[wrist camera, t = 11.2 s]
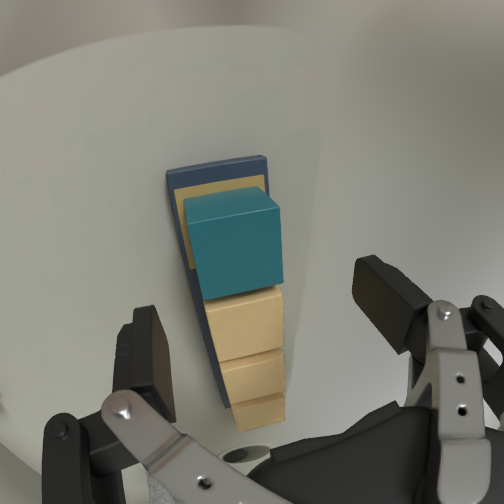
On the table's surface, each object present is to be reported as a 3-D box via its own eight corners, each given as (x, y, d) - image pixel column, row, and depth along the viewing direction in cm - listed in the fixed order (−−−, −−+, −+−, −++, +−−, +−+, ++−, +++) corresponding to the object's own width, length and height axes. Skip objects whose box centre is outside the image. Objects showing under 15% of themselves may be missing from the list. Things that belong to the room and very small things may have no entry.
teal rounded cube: (183, 198, 17) (186, 224, 13) (257, 185, 18) (279, 206, 14) (196, 264, 19) (203, 301, 16) (263, 250, 20) (283, 283, 16)
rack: (166, 170, 17) (163, 192, 13) (262, 154, 18) (291, 171, 14) (223, 401, 29) (233, 440, 24) (277, 388, 30) (292, 424, 25)
